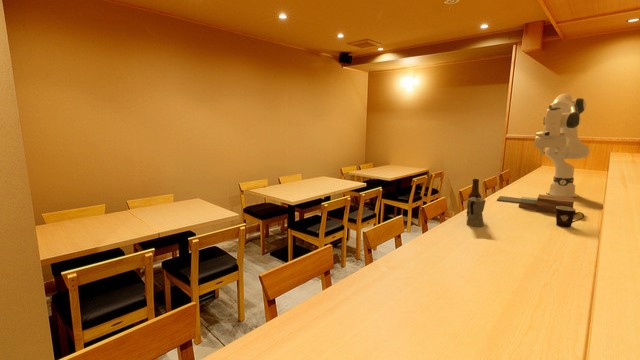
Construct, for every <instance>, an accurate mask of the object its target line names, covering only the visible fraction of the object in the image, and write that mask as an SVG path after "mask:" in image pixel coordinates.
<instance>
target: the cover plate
mask: <svg viewBox="0 0 640 360" xmlns="http://www.w3.org/2000/svg"><path fill="white" fill-rule="evenodd" d="M537 198H538V197H527V196H521V202H524V203H532V204H537Z"/></svg>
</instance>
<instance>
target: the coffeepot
mask: <svg viewBox="0 0 640 360" xmlns="http://www.w3.org/2000/svg"><path fill="white" fill-rule="evenodd" d="M475 196H476V197H472V198H468V197H467V203H468V205H469V214H468V217H467V219H466V225H467V226H469V227H473V228H481V227H484V216H483V212H484V210H485V205H486V199H485V198H483V197H481V198H479V197H478V194H476V195H475Z"/></svg>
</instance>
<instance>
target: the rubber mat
mask: <svg viewBox="0 0 640 360" xmlns="http://www.w3.org/2000/svg"><path fill="white" fill-rule="evenodd" d="M521 198H522V197H521ZM521 198H520V197H511V196H505V195H504V196H503V195H500V196H499V197H498V198H496V201H497V202H505V203H514V204H519V201H520V200H521Z"/></svg>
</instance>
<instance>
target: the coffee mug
mask: <svg viewBox="0 0 640 360" xmlns="http://www.w3.org/2000/svg"><path fill="white" fill-rule="evenodd" d="M576 210H577V209H576V208H574V207H573V208H571V207H566V206H557V207H556V214H555V222H556V226H557V227H559V228H560V227H561V228H566V229H567V228H569V229H570V228H571V227H572V224H573V223H576V222H578V221H581V220H583V219H584V217H585V214H584V213H583V212H581V211H578V212H576ZM577 214H581V215H582V217H581V218H579V219H575V220H574V217H575V216H576V215H577Z"/></svg>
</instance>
